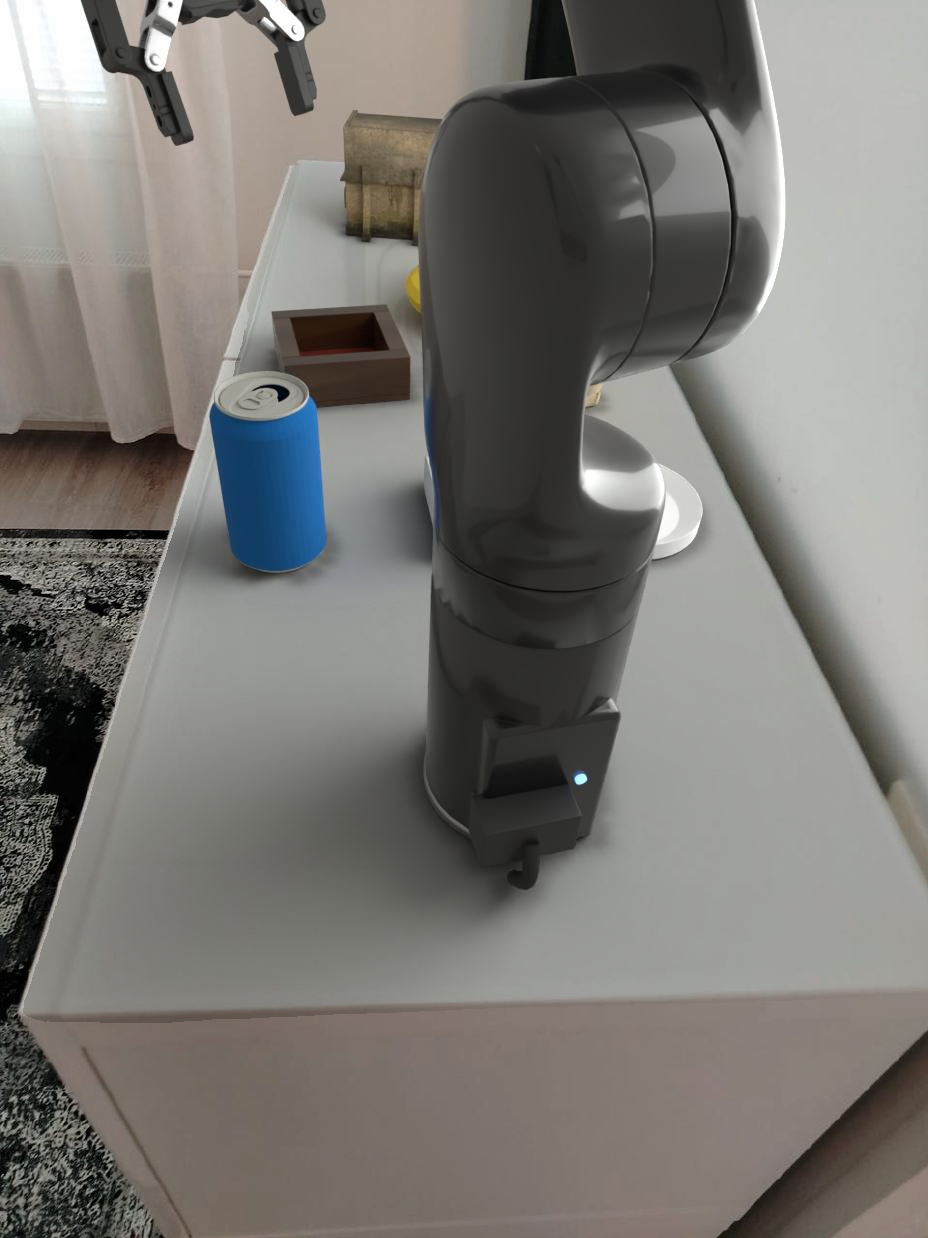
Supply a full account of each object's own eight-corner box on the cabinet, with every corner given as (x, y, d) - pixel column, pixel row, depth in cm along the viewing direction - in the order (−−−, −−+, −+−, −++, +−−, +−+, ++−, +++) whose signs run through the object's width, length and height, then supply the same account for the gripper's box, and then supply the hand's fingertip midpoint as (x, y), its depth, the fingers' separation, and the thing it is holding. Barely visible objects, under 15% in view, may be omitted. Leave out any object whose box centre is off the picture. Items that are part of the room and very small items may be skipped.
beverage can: (345, 543, 63) (337, 388, 55) (284, 593, 59) (266, 433, 51) (275, 511, 65) (257, 357, 57) (211, 556, 61) (182, 398, 53)
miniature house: (461, 248, 104) (466, 140, 96) (340, 239, 104) (335, 130, 96) (468, 204, 115) (473, 104, 107) (359, 196, 115) (356, 96, 107)
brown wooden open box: (410, 399, 78) (410, 356, 75) (288, 409, 76) (284, 366, 73) (387, 344, 85) (386, 303, 83) (275, 352, 83) (271, 310, 80)
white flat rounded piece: (422, 443, 67) (675, 433, 70) (421, 478, 69) (667, 467, 72) (446, 539, 59) (732, 523, 62) (444, 575, 61) (720, 558, 64)
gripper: (27, -217, 44) (160, 146, 52) (282, -236, 50) (367, 93, 57) (3, -156, 50) (125, 162, 57) (233, -180, 56) (317, 112, 63)
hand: (246, 127), depth 57 cm, fingers open, 8 cm apart
